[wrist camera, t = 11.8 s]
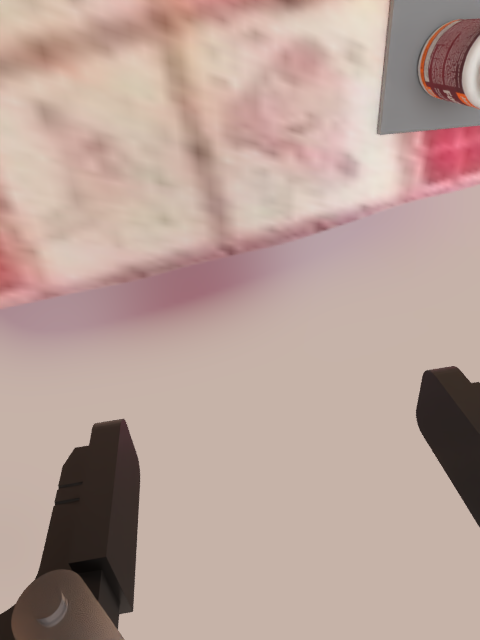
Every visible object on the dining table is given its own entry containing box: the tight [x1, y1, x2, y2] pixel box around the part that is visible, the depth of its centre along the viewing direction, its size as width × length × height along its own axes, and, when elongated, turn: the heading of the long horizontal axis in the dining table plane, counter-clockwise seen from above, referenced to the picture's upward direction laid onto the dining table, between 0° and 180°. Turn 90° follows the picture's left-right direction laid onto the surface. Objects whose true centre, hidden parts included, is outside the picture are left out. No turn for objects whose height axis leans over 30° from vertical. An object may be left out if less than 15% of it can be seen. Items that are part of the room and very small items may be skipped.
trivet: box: [377, 0, 480, 135], centre depth 31 cm, size 9×9×1 cm
